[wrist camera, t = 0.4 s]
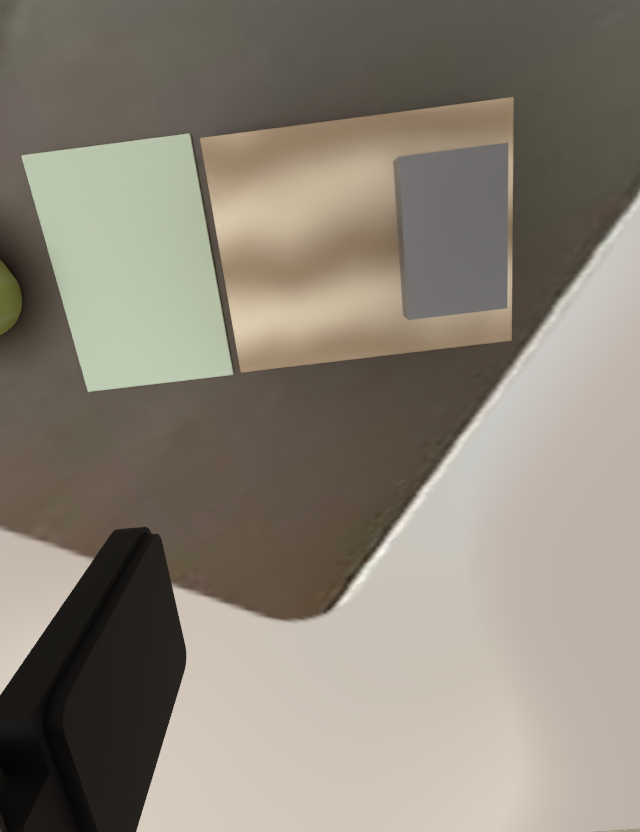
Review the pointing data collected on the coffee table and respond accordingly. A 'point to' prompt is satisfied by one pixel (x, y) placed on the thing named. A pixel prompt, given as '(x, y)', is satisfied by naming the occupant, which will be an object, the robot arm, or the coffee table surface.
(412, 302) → the grey rectangular block
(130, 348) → the mat
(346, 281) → the light wood flat block
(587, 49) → the coffee table surface
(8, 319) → the plant pot
